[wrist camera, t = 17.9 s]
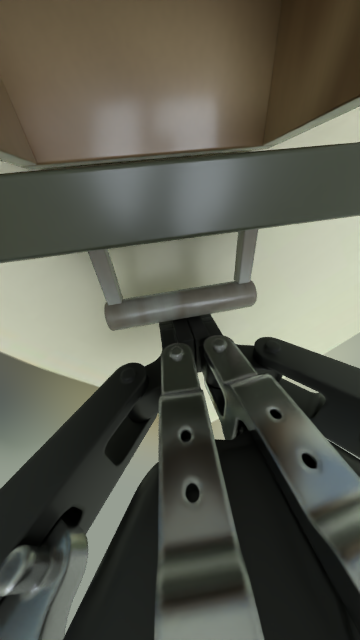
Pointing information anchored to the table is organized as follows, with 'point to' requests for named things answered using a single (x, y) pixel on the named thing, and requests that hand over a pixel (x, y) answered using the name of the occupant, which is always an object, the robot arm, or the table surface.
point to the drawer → (171, 131)
